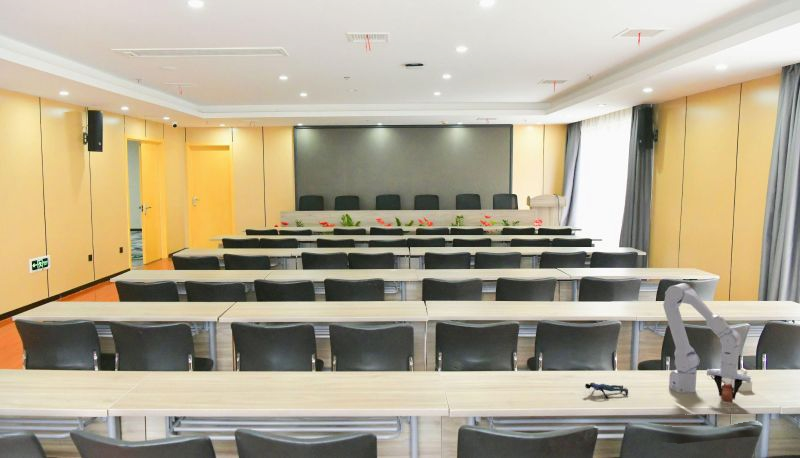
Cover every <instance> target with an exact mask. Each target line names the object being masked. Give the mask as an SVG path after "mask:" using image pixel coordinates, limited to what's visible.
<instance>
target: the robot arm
mask: <svg viewBox="0 0 800 458" xmlns="http://www.w3.org/2000/svg"><path fill="white" fill-rule="evenodd" d="M663 301H664V302H663V304H662V306H663V309H664V313H665V317H666V319H667V324H668V326H669V329H670V332H671V336H672V340H673V342H674V347H675V350H674V353H673V354H674V358H675V359H674V366H675V367H676V369H674V370H672V371H671V372H670V373H669V382H668V388H669V389H671V390H673V391H674V392H677V393H679V394H682V393H683V394H684V393H695V392H696V386H697V367H698V366H699V364H700V357H699V356H698V354H697V353H696V351H695V348H693V347H692V346H691V345H690V341H689V338H688V334H687V332H686V328H685V325H684V322H683V319H682V315H681V311H680V308H679V307H680V306H681V305H682V303H683V304H687V305H691V307H693V308H694V309H695V310H696V311H697V312H698V313H699V314H700V315H701V316H702V317H703V318H704V319H705V323H706V326H707V327H708V328H709V329H710V330H711V331H712V332H713V333H714V334H715V335H716V336H717V338H719V343H720V344H721V355H720V368H719V369H720V370H711V369H710V368H707V370H706V376H710V377H711V375H712V376H714V378H713V379H714V382H715V384H716V387H717V390H718V396H719V397H720V396H721V390H722V382H723V381H722V377H723V378H729V379H734V380H735V382H734V393H733V399H736V395H737V393H738V391H739V390H738V389H739V388H740V386H741V385H742V381H745V382H748V383H750V381H752V380H751V379H752V376H749V375H747V376H746V375H742V374H738V373H739V371H738V370H739V369H738V368H739V367H738V366H739V358H740V357H739V354H740V344H741V343H742V340H743V339H742V335H741V334H740V332H739V331H738V330H735V329H734V327H730V325H728V324H727V322H726V321H725V318H724V317H723V316H720V315H718V314H714V313H713V312H712V311H711V309H709V307H708V306H707V305H706V304H705V302H704V301H703V300H702V299H701V298H700V296H699V295H698V294H697V292H696V291H695V290H694V289H693V288H692V287H691V286H690V284H688V283H685V282H681V283H678V284H675V285H670V286H669V287H668V288H667V289H666V290H665V292H664V300H663Z"/></svg>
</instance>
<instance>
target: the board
mask: <svg viewBox="0 0 800 458" xmlns="http://www.w3.org/2000/svg"><path fill="white" fill-rule="evenodd" d="M733 393H734V391H733ZM735 399H736V398H735ZM735 399H733V401H731V402H729V401H724V400H722V399H721V396H719V401H718V402H719V403H725V404H730V405H735Z"/></svg>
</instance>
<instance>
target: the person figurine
mask: <svg viewBox="0 0 800 458" xmlns="http://www.w3.org/2000/svg"><path fill="white" fill-rule="evenodd" d="M584 385H585V386H584V387H585V389H588V390H589V389H591V388H592V389H594V390H595V391H601V393H602V394H603V395H604V397H605V399H606V400H610V397H609V396H608V395H607V394H606V393H605V391H607V392H621V393H622V392H624V393H625V396H628V395H629V389H628V388H627V386H624V385H617V384H611V385H609V384H605V383H599V384H597V383H595V382H590V383H584Z"/></svg>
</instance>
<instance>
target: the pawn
mask: <svg viewBox="0 0 800 458" xmlns="http://www.w3.org/2000/svg"><path fill="white" fill-rule="evenodd" d="M721 387H722V390H721V399H722V400H724V401H729V402H731V401H733V391H734V388H733V387H732V385H731V384H729V383H725V382H724V383H723V385H721Z"/></svg>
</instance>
